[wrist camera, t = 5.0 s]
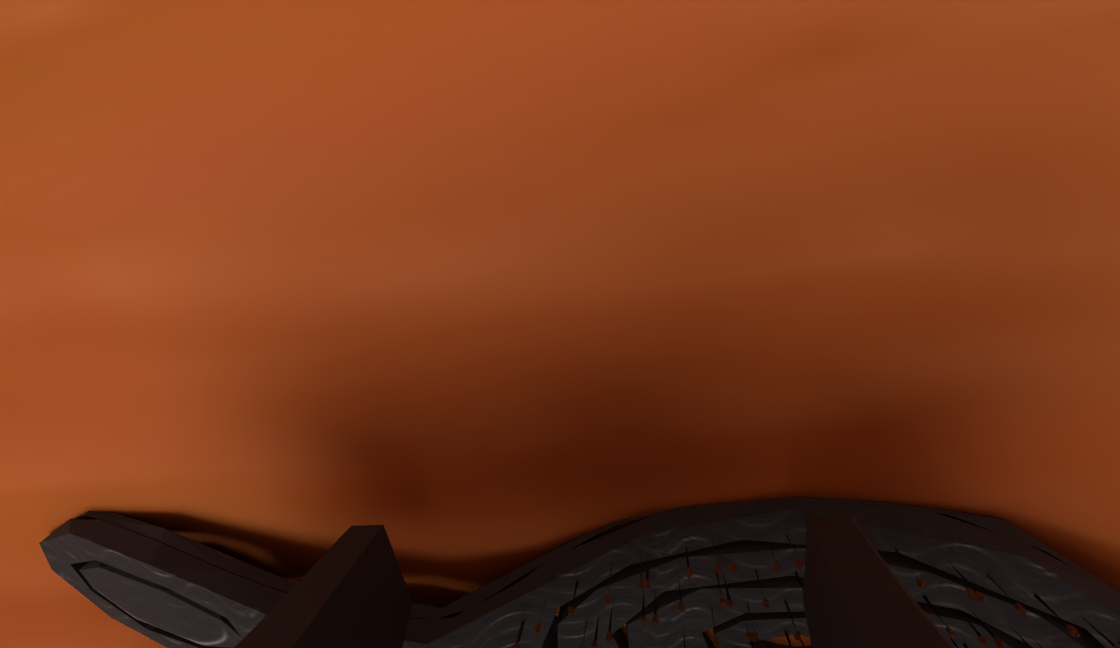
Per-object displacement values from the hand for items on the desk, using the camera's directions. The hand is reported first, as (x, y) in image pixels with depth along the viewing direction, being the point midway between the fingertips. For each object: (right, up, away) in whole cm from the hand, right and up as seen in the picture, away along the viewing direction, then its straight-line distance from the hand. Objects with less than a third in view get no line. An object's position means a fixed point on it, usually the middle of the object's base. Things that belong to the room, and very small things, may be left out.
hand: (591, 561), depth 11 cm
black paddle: (0, -2, +4) cm, 5 cm away
